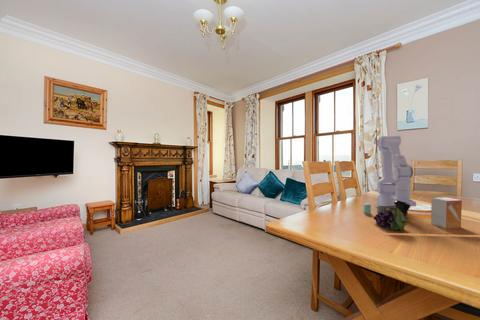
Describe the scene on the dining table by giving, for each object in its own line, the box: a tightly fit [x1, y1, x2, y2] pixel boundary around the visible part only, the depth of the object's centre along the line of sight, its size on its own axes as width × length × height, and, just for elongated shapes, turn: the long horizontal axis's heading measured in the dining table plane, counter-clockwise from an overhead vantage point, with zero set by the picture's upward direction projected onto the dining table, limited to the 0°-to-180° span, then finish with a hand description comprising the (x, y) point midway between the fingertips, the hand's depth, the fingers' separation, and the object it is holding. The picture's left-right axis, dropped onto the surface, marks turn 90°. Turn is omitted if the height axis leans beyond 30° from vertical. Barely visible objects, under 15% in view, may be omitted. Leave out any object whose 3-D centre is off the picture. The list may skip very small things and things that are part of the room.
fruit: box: [373, 208, 411, 231], centre depth 89 cm, size 10×10×15 cm
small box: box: [430, 196, 463, 229], centre depth 91 cm, size 8×6×13 cm
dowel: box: [363, 202, 372, 215], centre depth 110 cm, size 3×3×6 cm
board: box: [376, 204, 397, 214], centre depth 102 cm, size 18×13×5 cm
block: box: [385, 208, 409, 219], centre depth 106 cm, size 7×7×3 cm
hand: (402, 216), depth 102 cm, fingers closed
